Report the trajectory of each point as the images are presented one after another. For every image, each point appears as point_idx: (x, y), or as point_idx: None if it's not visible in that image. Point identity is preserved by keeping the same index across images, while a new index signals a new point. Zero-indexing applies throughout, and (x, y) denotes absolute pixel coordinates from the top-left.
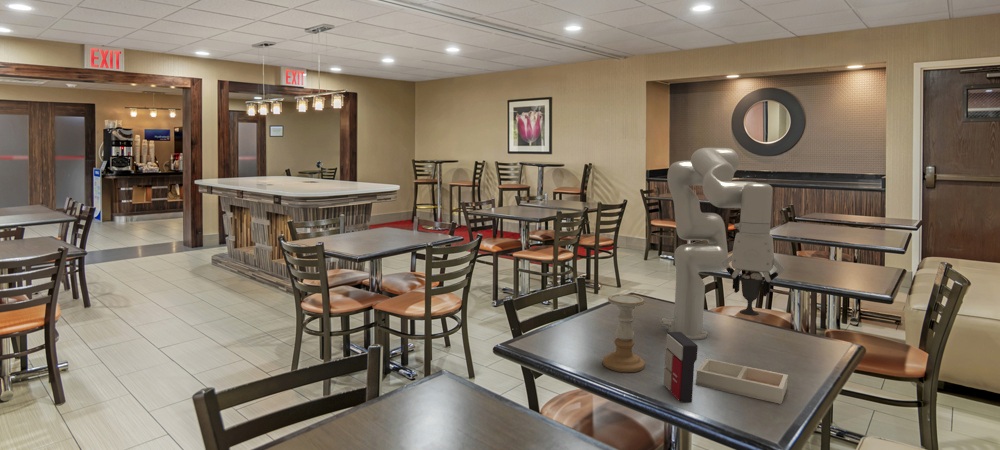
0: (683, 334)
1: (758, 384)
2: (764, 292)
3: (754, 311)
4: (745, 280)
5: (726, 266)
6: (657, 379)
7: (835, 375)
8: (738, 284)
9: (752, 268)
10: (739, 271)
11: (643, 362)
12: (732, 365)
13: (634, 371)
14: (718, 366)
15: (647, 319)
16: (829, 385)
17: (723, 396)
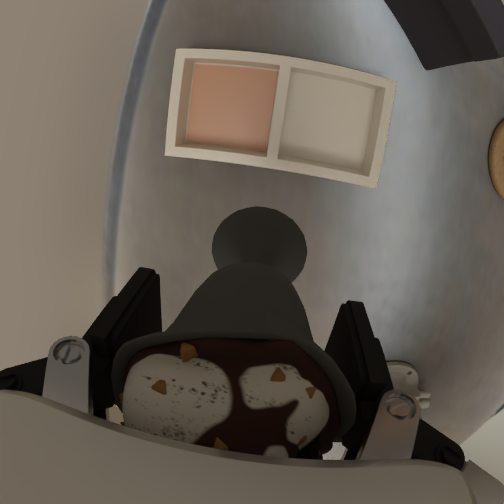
0: (485, 22)
1: (233, 50)
2: (138, 280)
3: (232, 257)
4: (291, 339)
5: (469, 479)
6: (460, 92)
7: (106, 277)
8: (339, 368)
9: (179, 477)
10: (360, 456)
11: (496, 160)
12: (306, 164)
13: (502, 121)
14: (341, 169)
15: (435, 414)
16: (107, 219)
17: (316, 38)
